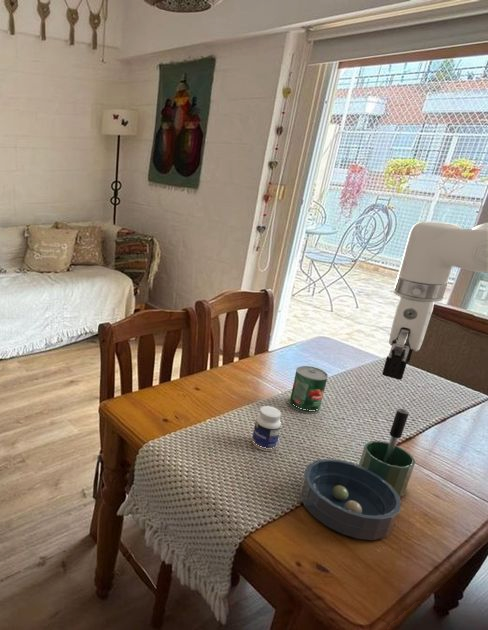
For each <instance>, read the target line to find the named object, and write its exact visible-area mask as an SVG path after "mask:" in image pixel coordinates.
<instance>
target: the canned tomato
mask: <svg viewBox="0 0 488 630" xmlns="http://www.w3.org/2000/svg"><path fill="white" fill-rule="evenodd" d="M328 377H329V375H328V373H327V372H326V371H324V370H323V369H321V368H319V367H315V366H310V365H300V366H298V367H296V370H295V376H294V379H293V384H292V389H291V394H290V398H289V401H288V403H289V405H290V407H291V408H292V409H293V410H295V411H297V412H300V413H303V414H307V415H312V414H317V413H319V412H320V410H321V405H322V402H323V397H324V393H325V389H326V384H327V381H328ZM290 401H291V402H290ZM293 404H294V405H295V406H294V405H293ZM296 406H297V407H296ZM298 407H299V408H298ZM300 408H302V409H300ZM303 409H306V410H303ZM307 409H308V410H307ZM316 409H318V410H316ZM309 410H315V411H309Z"/></svg>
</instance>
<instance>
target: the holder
mask: <svg viewBox="0 0 488 630" xmlns="http://www.w3.org/2000/svg"><path fill="white" fill-rule="evenodd" d="M388 445H389V442H386V441H381V440H370V441H368V442H365V444H364V446H363V449H362V452H361V456H360V459H359V462H358V465H359V466H361V467H364V468H366V469H368V470H370V471H372V472H373V473H375V474H377V475H379V476H380V477H381V478H383V479H384V480H385V481H386V482H388V483H389V484H390V485H391V486H392V487H393V488H394V490H395V491H396V492H397V494H398V495H399V498H402V497H403V496H404V494H405V493H406V490H407V487H408V484H409V481H410V479H411V477H412V473H413V470H414V467H415V465H416V460H415V458H414V457H413V455H412V454H411V453H410V452H409V451H407V450H406V449H404V448H402V447H400V446H399V445H396V446H395V449H394V452H393V455H392V458H391V461H390V464H387V463H384V462H383V460H384V457H385V454H386V451H387V448H388Z"/></svg>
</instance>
